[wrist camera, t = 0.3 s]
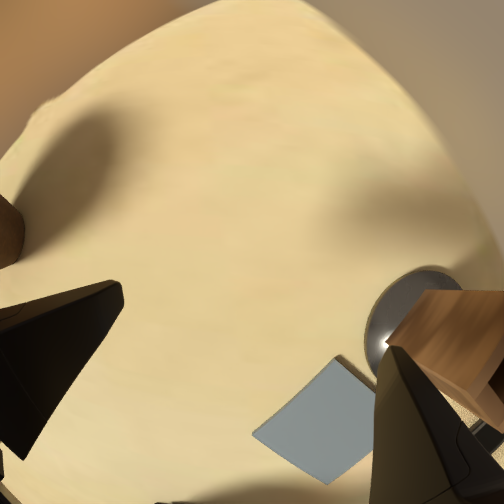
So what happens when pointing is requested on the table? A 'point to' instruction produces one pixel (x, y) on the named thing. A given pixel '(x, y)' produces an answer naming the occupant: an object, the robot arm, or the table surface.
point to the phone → (487, 435)
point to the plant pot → (10, 233)
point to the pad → (324, 424)
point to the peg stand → (398, 309)
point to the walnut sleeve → (459, 347)
